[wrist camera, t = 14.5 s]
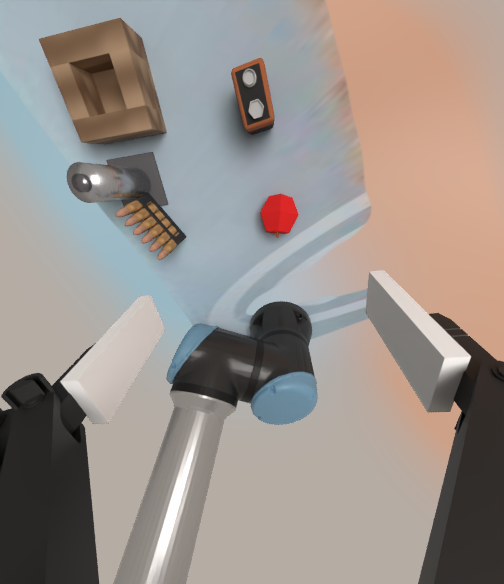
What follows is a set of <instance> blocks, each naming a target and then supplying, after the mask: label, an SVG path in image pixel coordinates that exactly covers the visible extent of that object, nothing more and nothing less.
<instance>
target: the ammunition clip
mask: <svg viewBox="0 0 504 584" xmlns="http://www.w3.org/2000/svg"><path fill="white" fill-rule="evenodd" d="M142 208H143V209H142ZM141 209H142V210H141ZM135 212H136V213H135ZM133 213H135V214H134V215H133V216H132V217H130V218H129V219H128V220H127V221H126V222H125V226H131V225H134V224H136V223H138V222H141V221H143V220H144V221H143V222H142V223H141V224H140V225H139V226H138V227H137V228H136V229H135V230H134V232H133V234H134V235H138V234H141V233H143V232H145V231H147V230H149V229H150V230H149V232H148V233H147V234H146V235H145V236H144V237H143V239H142V243H147V242H149V241H151V240H152V239H154V238H156V237H157V236H159V237H158V238H157V239H156V241H155V242H154V243H153V244H152V246H151V247H150V251H151V252H153V251H155V250H157V249H158V248H160V247H161V246H163V245H164V244H165V243H166V245H165V246H164V247H163V249H162V250H161V252H160V253H159V255H158V260H161V259H163V258H164V257H166V256H167V255H168V254H169V253H171V252H172V251H173V249H174V248H175V247H176V246H177V245H178V244H179V243H180V242H181V241H182V240H183V239H185V238H186V236H185V234H184V233H183V232H182V231H181V230H180V229H179V227H178V226H177V225H176V224H175V223H174V222H173V220H172V219H171V218H170V217H169V216H168V215H167V213H166V212H165V211H164V210H163V209H162V208H161V207H160V205H159V204H158V203H157V202H156V201H155V200H154V198H153V197H152V196H151V195H150V194H149V193H148V194H145V195H144V196H142V197H140V198H139V199H137V200H135V201H133V202H131V203H129V204H127V205H126V206H125V207H123V208H122V209H120V210H119V211H118V212H117V213H116V216H117V217H123V216H126V215H129V214H133ZM148 217H149V218H148ZM157 223H158V224H157ZM156 224H157V225H156ZM155 225H156V226H155ZM151 228H152V229H151ZM163 231H164V232H163ZM162 232H163V233H162ZM161 233H162V234H161ZM170 238H171V239H170ZM169 239H170V240H169ZM168 240H169V241H168Z"/></svg>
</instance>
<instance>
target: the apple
mask: <svg viewBox="0 0 504 584" xmlns="http://www.w3.org/2000/svg"><path fill="white" fill-rule="evenodd" d="M260 213H261V216H262V219H263V222H264V226H265V229H266V231H267V232H269V233H276V237H277V238H278V237H279V233H281V234H285V233H289V232H290V230H291V228H292V226H293V224H294V223H295V221H296V219H297V217H298V212H297V209H296V207H295V204H294V201H293V198H291V197H288V196H285V195H283V194H278V195H273V196H269V197H268V199H267V201H266V203H265V205H264V207H263V208H262V210H261V212H260Z"/></svg>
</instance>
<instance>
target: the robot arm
mask: <svg viewBox="0 0 504 584" xmlns="http://www.w3.org/2000/svg"><path fill="white" fill-rule="evenodd" d="M366 314H367V315H368V317H369V319H370V320H371V322H372V323H373V325H374V327H375V328H376V330H377V331H378V333H379V335H380V336H381V338H382V339H383V341H384V343H385V344H386V346H387V347H388V349H389V351H390V352H391V354H392V355H393V357H394V359H395V360H396V362H397V364H398V365H399V367H400V369H401V370H402V372H403V373H404V375H405V377H406V378H407V380H408V382H409V383H410V385H411V386H412V388H413V389H414V391H415V393H416V394H417V396H418V398H419V399H420V401H421V402H422V404H423V406H424V407H425V409H426V411H427V412H450V411H451V408H452V405H453V402H454V401H455V402H456V404H457V405H458V406H459V408H460V409H461V410H462V412H461V414H460V417H459V419H458V421H457V424H456V427H455V430H456V433H455V437H454V441H453V446H452V449H451V454H450V457H449V461H448V466H447V469H446V474H445V478H444V482H443V486H442V490H441V494H440V498H439V502H438V506H437V510H436V514H435V518H434V522H433V526H432V530H431V534H430V538H429V542H428V546H427V550H426V555H425V558H424V562H423V566H422V570H421V575H420V579H419V582H418V584H504V362H502V361H497V360H496V359H494V358H493V357H492V356H491V355H490V354H489V353H488V352H487V351H486V350H484V349H483V348H482V347H481V346H480V345H479V344H478V343H477V342H476V341H474V340H473V339H472V338H471V337H470V336H468V335H467V334H466V333H465V332H464V331H463V330H462V329H460V327H459V326H458V325H456V324H455V323H454V322H453V321H452V320H451V319H449V318H447V317H445V316H443V315H441V314H439V313H434V314H428V313H426V311H425V310H423V308H422V307H420V306H419V305H418V304H417V303H416V302H415V301H414V300H413V299H412V298H411V297H410V296H409V295H408V294H407V293H406V292H405V291H404V290H403V289H402V288H401V287H400V286H399V285H398V284H397V283H396V282H395V281H394V280H393V279H392V278H391V277H390V276H389V275H388V274H387V273H386V272H385V271H384V270H381V271H371V272H369V280H368V291H367V303H366ZM164 331H165V329H164V326H163V324H162V321H161V319H160V316H159V314H158V311H157V309H156V307H155V304H154V302H153V299H152V297H151V295H150V296H140V297H139V298H138V299H137V300H136V301H135V302H134V303H133V304H132V305H131V306H130V307H129V308H128V310H127V311H126V312H125V313H124V314H123V315H122V316H121V317H120V318H119V319H118V320H117V321H116V323H114V325H113V326H112V327H111V328H110V329H109V330H108V331H107V332H106V333H105V334H104V335H103V336H102V337H101V339H100V340H99V341H98V342H97V343H95V344H94V345H92V346H91V347H90V348H88V349H87V350H86V351H85V352H84V353H83V354H82V355H81V356H80V358H79V359H77V360H76V361H75V362H74V365H71V367H70V368H69V369H68V370H67V371H66V372H65V373H64V374H63V375H62V376H61V377H60V378H59V379H58V380H57V381H56V382H55V383H54V384H53V385H52V386H51V385H50V383H49V382H48V381H47V380H46V378H45V377H44V376H43V375H42V374H40V373H35V374H31V375H28V376H25V377H23V378H21V379H19V380H18V381H16V382H15V383H13V384H12V385H11V386H9V387H8V388H7V389H6V390H5V391H4V392H3V394H2V398H3V399H4V400H5V401H6V402H7V403H8V404H9V405H10V406H11V407H12V409H8V410H5V411H2V409H1V408H0V584H99V577H98V565H97V554H96V544H95V534H94V522H93V511H92V500H91V489H90V478H89V469H88V468H89V467H88V457H87V446H86V435H85V428H84V426H83V424H82V421H83V420H84V418H85V417H86V416H87V417H88V418H89V420H90V421H91V422H92V423H93V424H105V423H109V422H110V420H111V418H112V417H113V415H114V413H115V411H116V410H117V408H118V407H119V405H120V403H121V402H122V400H123V399H124V397H125V395H126V394H127V392H128V390H129V388H130V387H131V385H132V384H133V382H134V380H135V379H136V377H137V375H138V374H139V372H140V370H141V369H142V367H143V366H144V364H145V362H146V361H147V359H148V357H149V356H150V354H151V352H152V351H153V349H154V347H155V346H156V344H157V342H158V341H159V339H160V337H161V336H162V334H163V332H164ZM250 333H251V337H248V336H245V335H241V334H238V333H235V332H232V331H228V330H225V329H222V328H219V327H218V326H216V327H214V326H209V325H205V324H196V325H194V326H193V327H192V328H191V329H190V330H189V331H188V332H187V334H186V335H185V337H184V339H183V340H182V342H181V344H180V345H179V347H178V349H177V351H176V353H175V355H174V358H173V360H172V363H171V365H170V367H169V370H168V373H167V381H168V382H169V383H170V384H173V386H172V389H171V391H170V396H171V398H172V400H173V403H174V410H173V413H172V416H171V419H170V422H169V425H168V427H167V431H166V433H165V436H164V439H163V442H162V445H161V448H160V451H159V453H158V456H157V459H156V462H155V465H154V468H153V471H152V474H151V477H150V479H149V483H148V485H147V488H146V491H145V494H144V497H143V500H142V503H141V506H140V508H139V511H138V514H137V517H136V520H135V523H134V526H133V529H132V532H131V534H130V538H129V540H128V543H127V546H126V549H125V552H124V555H123V557H122V560H121V563H120V566H119V569H118V572H117V575H116V578H115V581H114V583H113V584H186V581H187V577H188V572H189V568H190V564H191V560H192V555H193V551H194V547H195V542H196V538H197V534H198V530H199V525H200V521H201V517H202V513H203V509H204V504H205V500H206V496H207V491H208V487H209V483H210V478H211V474H212V470H213V466H214V462H215V457H216V453H217V449H218V445H219V440H220V436H221V432H222V428H223V423H224V420H225V418H226V417H227V416H229V415H230V414H231V413H233V412H234V411H235V410H236V406H237V402H238V400H240V401H244V402H247V403H251V408H252V411H253V414H254V415H255V416H256V417H258V419H259V420H261V421H263V422H265V423H269V424H276V425H280V424H289V423H293V422H295V421H298V420H301V419H303V418H304V417H306V416H307V415H308V414H310V413H311V412H312V410H313V409H314V407H315V406H316V403H317V387H316V384H317V382H316V379H315V376H314V372H313V367H312V362H311V357H310V353H309V348H308V346H309V342H310V339H311V335H312V326H311V322H310V318H309V316H308V314H307V313H306V312H305V311H304V310H303V309H302V308H301V307H299V306H298V305H296V304H293V303H290V302H273V303H269V304H267V305H264V306H263V307H261V308H260V309H259V310H258V311H257V312H256V313H255V314H254V316H253V318H252V320H251V327H250Z"/></svg>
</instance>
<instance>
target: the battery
mask: <svg viewBox="0 0 504 584" xmlns="http://www.w3.org/2000/svg"><path fill="white" fill-rule="evenodd" d="M231 75H232V80H233V84H234V88H235V92H236V96H237V100H238V104H239V108H240V112H241V116H242V120H243V124H244V128H245V129H246V130H247V131H248V133H249V134H251V135H252V134H255V133H258V132H261V131H264V130H267V129H270V128H272V127H273V125H274V111H273V106H272V101H271V96H270V91H269V85H268V80H267V75H266V70H265V65H264V61H263V59H262V58H258V59H256V60H253V61H251V62H248V63H246V64H243V65H241V66H238V67H236V68H233V69H232V72H231Z"/></svg>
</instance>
